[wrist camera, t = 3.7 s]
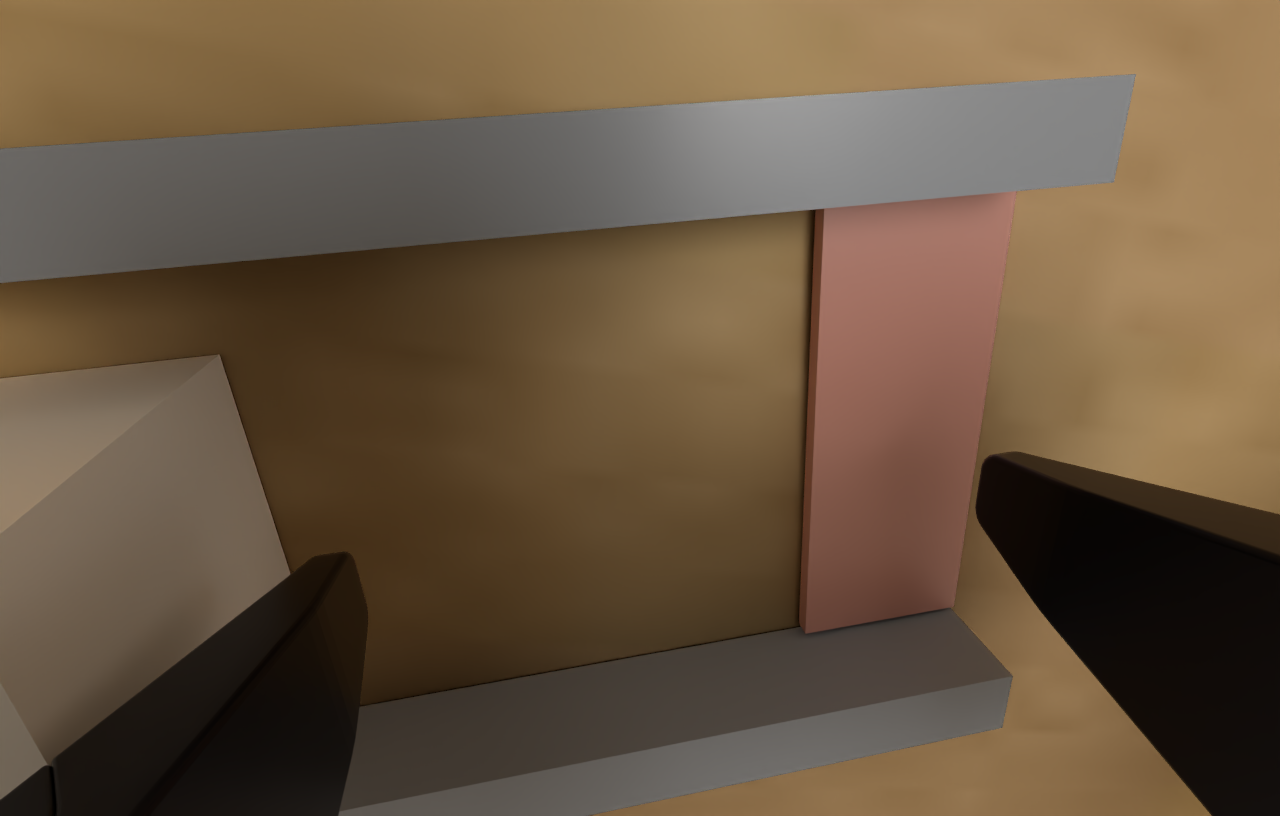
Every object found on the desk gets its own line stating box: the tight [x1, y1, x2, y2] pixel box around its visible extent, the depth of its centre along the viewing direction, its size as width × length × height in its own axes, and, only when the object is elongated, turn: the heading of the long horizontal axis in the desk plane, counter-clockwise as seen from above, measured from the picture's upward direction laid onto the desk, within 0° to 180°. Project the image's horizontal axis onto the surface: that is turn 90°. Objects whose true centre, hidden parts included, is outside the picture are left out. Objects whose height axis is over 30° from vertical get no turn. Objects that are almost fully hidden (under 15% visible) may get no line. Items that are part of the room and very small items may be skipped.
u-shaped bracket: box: [0, 74, 1136, 816], centre depth 10 cm, size 14×10×2 cm
